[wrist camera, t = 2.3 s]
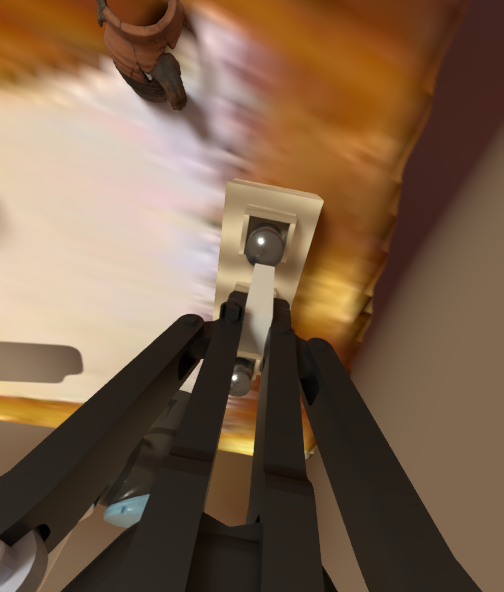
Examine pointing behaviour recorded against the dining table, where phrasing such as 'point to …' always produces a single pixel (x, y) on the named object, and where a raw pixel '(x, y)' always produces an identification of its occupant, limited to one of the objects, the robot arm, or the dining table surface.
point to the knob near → (265, 245)
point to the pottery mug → (147, 53)
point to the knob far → (241, 377)
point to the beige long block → (236, 230)
